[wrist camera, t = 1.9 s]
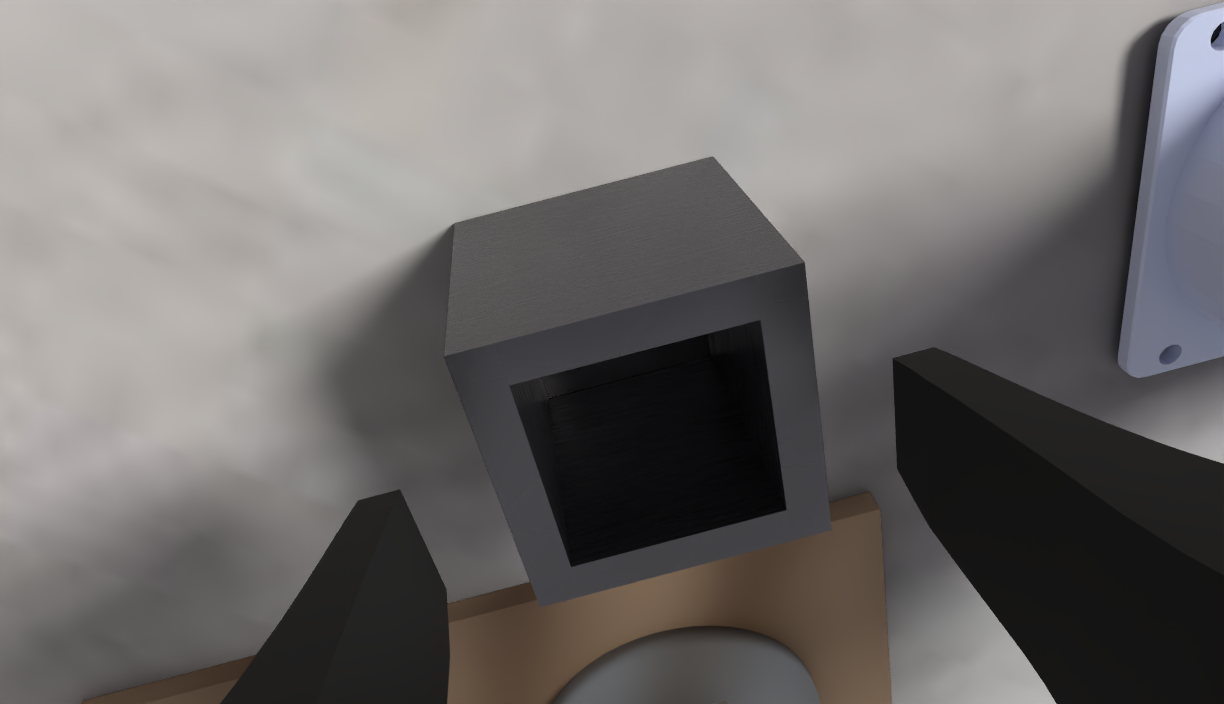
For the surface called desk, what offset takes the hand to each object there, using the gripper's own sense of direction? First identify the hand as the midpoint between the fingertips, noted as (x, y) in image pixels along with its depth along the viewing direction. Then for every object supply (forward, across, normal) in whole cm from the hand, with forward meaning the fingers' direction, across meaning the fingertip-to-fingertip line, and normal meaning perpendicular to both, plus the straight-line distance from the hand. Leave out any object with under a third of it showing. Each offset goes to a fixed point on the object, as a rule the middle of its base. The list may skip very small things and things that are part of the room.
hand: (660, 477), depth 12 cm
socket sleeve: (+6, 0, 0) cm, 6 cm away
